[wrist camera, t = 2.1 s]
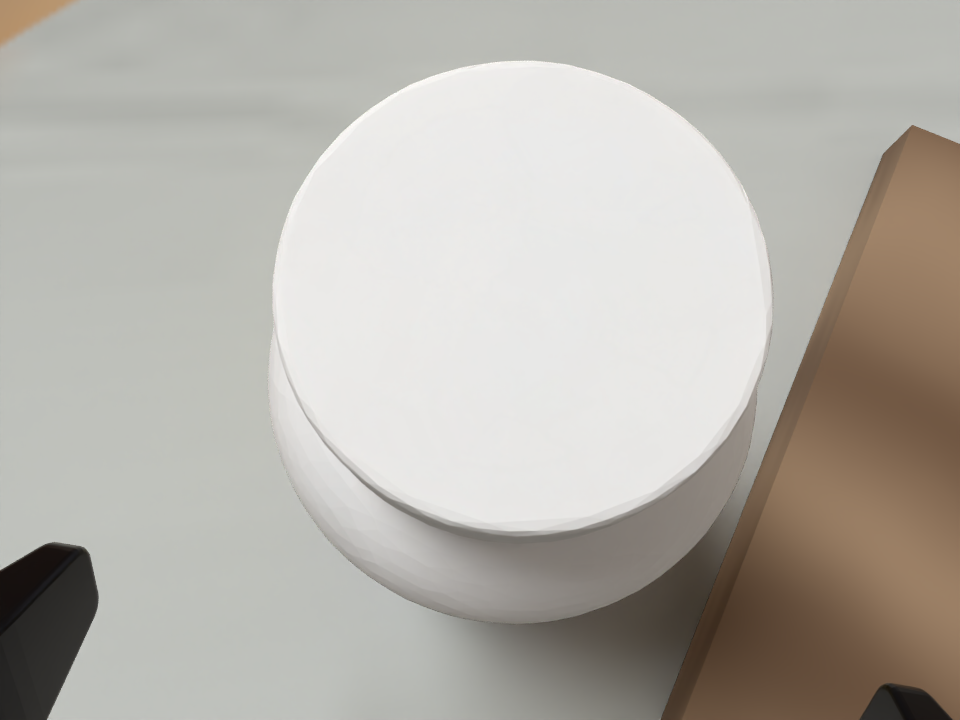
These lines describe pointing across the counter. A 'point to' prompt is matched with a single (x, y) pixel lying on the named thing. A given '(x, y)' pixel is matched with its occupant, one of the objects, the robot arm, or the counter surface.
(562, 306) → the supplement bottle
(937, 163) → the walnut board
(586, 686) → the counter surface
